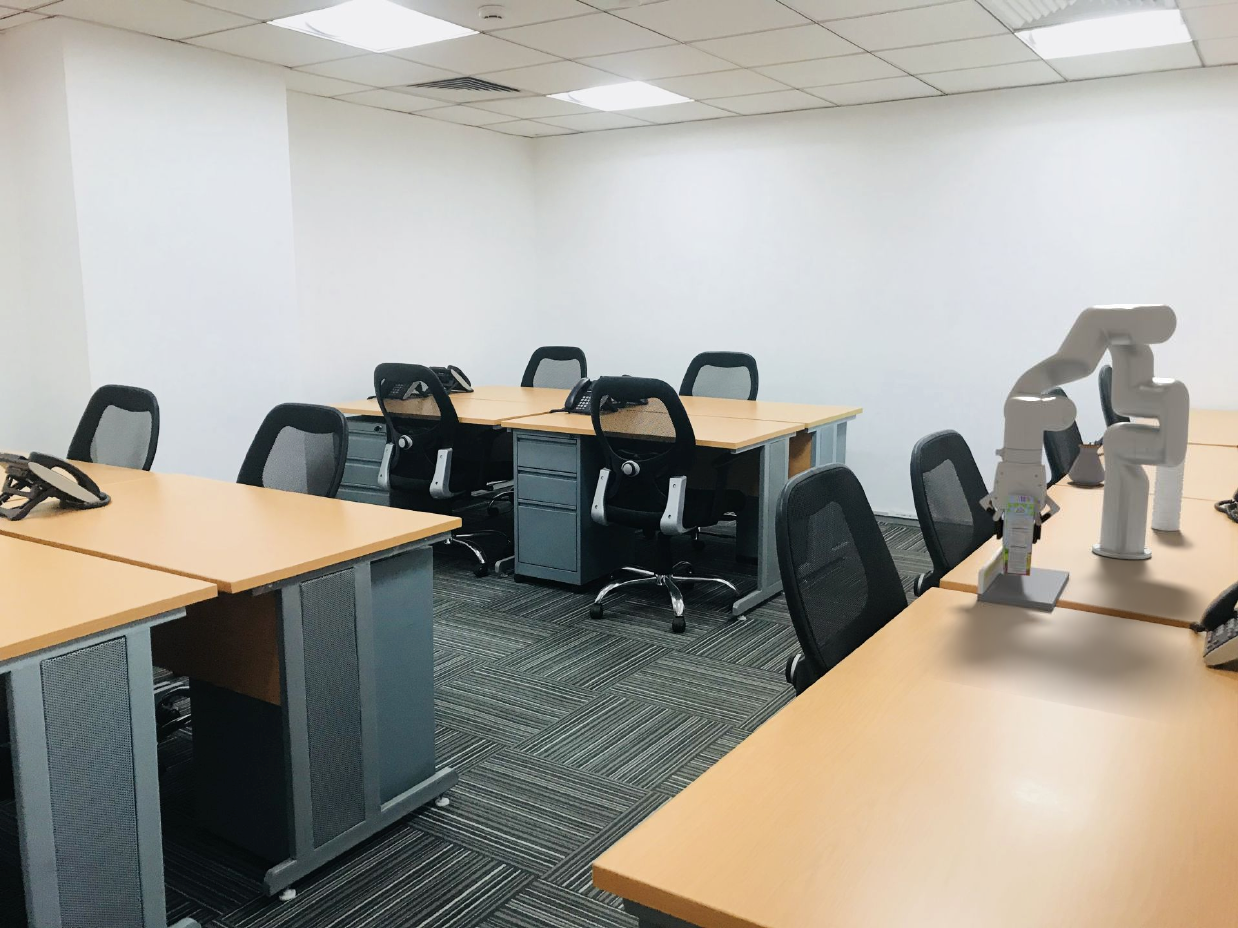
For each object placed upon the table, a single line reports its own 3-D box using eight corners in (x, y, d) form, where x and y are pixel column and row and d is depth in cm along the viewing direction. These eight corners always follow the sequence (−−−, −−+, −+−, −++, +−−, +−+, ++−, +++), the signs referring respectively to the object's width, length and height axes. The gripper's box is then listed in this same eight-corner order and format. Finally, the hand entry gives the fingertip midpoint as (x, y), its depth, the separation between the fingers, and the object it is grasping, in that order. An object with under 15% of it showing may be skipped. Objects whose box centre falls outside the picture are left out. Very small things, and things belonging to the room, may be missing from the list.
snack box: (999, 547, 210) (1005, 481, 207) (1026, 549, 208) (1032, 483, 205) (1001, 574, 191) (1007, 501, 188) (1031, 577, 189) (1038, 504, 186)
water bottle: (1175, 532, 246) (1184, 438, 242) (1148, 528, 251) (1155, 436, 247) (1183, 526, 253) (1191, 434, 249) (1156, 523, 257) (1164, 432, 253)
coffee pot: (1064, 484, 313) (1067, 440, 311) (1070, 479, 323) (1073, 435, 320) (1137, 490, 301) (1141, 444, 299) (1141, 485, 311) (1144, 440, 308)
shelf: (1001, 569, 214) (1002, 544, 213) (1069, 578, 207) (1070, 551, 206) (976, 600, 192) (978, 571, 191) (1051, 611, 185) (1053, 581, 184)
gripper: (974, 455, 197) (970, 539, 200) (1065, 462, 188) (1059, 549, 191) (982, 451, 203) (977, 532, 206) (1070, 457, 194) (1064, 542, 197)
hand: (1016, 539), depth 199 cm, fingers closed on snack box, 6 cm apart
